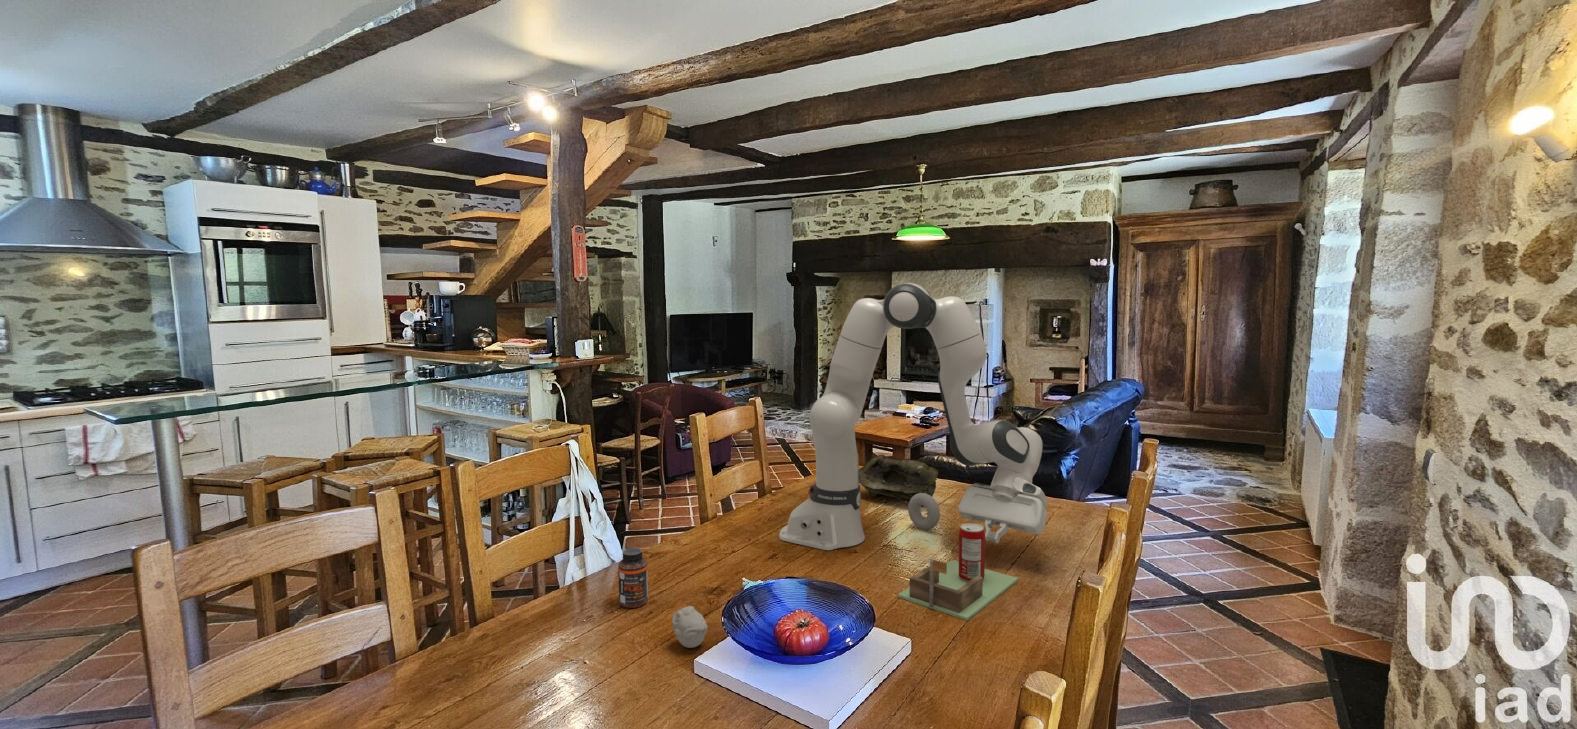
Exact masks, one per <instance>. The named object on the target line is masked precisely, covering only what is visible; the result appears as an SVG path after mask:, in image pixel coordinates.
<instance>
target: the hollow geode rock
mask: <svg viewBox="0 0 1577 729" xmlns="http://www.w3.org/2000/svg"><path fill="white" fill-rule="evenodd" d="M938 476H939V470H938V469H937V468H935V467H934V466H930V465H928V464H927V463H926V462H925V461H923V460H921V459H920V460H918V459H915V458H913V459H912V458H901V459H899V458H895V457H893V456H892V457H889V456H885V455H884V454H880V455H879V454H878V455H874V456H873V457H870V459H869V460H868V461H867V462H866V463H865V465H864V466H862V467H861V468H858V480H859V485H860V486H862V487H863V488H864V489H865V490H866V491H868V492H869V495H870V497H876V496H878V495H883V496H885V497H893V498H897V499H898V500H899V501H900V502H905V503H908V504H909V502H910V500H911V498H912V497H913V496H914V495H916V494H918V493H926V494H928V495H930V496H932V497H933V495H934V494H935V491H936V488H937V480H938V479H937V478H938ZM922 507H923V508H925V507H924V506H923V505H922V506H921V508H922Z"/></svg>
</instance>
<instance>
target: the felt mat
mask: <svg viewBox="0 0 1577 729" xmlns="http://www.w3.org/2000/svg"><path fill="white" fill-rule="evenodd" d="M946 563H947V574H944V573H940V572H939V582H938V583H937V584H939V585H942V586H945V587H948V588H952V589H955V590H958V589H959V588H961V587H962V586H963V585H965V584H966V583H968V582H966V581H964V580H962V579H961V578H960V577H959V560H955V559H952V560H950V561H949V562H946ZM1018 581H1019V578H1018V577H1016V576H1012V575H1009V574H1005V573H1002V572H998V571H994V570H991V569H988V568H985V574H984V579H983V591H982V596H981V597H980V598H978V599H977V600H976V601H974V602H973V603H972V604H971V605H969V606H968V607H967V608H965V609H964V610H963V611H961V612H960V613H957V612H954V611H951V610H948V609H945V608H942V607H939V606H936V605H933V607H930V606H929V603H927V602H924V601H921V600H918V599H915V598H912V597H910V586H908V587H907V588H906V589H904V590H902V591H901V592H900V593H898V594H897V597H898V598H900V599H902V600H906V601H908V602H911V603H914V604H917V605H920V606H923V607H926V608H929V609H933V610H936V611H938V612H941V613H944V614H947V615H950V616H953V617H955V618H958V619H960V620H965V621H967V622H968V621H969V620H971V619H972V618H973V617H974V616H976V615H977V614H978V613H979V612H981V611H982V610H983V609H984V608H986V607H987V606H988V605H989V604H991V603H992V602H993V601H995V600H996V599H997V598H999V597H1000V596H1001V595H1003V593H1005V592H1006V591H1007V590H1009V589H1010V588H1011V587H1012V586H1014V584H1016V583H1017V582H1018Z"/></svg>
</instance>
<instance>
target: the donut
mask: <svg viewBox="0 0 1577 729" xmlns="http://www.w3.org/2000/svg"><path fill="white" fill-rule="evenodd" d="M922 505H923V506H924V507H923V508H925V510H926V512H927V514H926V517H925V515H923V514H922V511H921V510H922V509H921V508H922ZM907 509H908V510H907V511H908V516H909V518H910V520H911V522H912V523H913V524H914V525H915V526H916V527H917V528H919V529H920V530H922V531H929V530H932V529H934V528H935V527H937V526H938V523H939V522H940V519H941V509H940V505H939V504H938V502H937V501H936V499H935V498H934V497H933V496H930V495H928V494H926V493H918V494H916V495H914V496H913V497H912V498H911V500H910V502H909V503H908V505H907Z"/></svg>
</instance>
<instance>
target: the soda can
mask: <svg viewBox="0 0 1577 729" xmlns="http://www.w3.org/2000/svg"><path fill="white" fill-rule="evenodd" d="M959 528H960V529H959V532H958V561H959V577H960V578H961V579H962V580H964V581H966V582H969V581H970V580H972V579H973V578H975V577H976V576H980V577H983V579H984V574H985V569H986V568H985V567H986V565H985V564H986V562H985V561H986V539H985V534H986V532H985V530H984V529H985V528H984V526H983V525H981V524H978V523H971V522H970V523H969V522H968V523H962V524H961V525H960V527H959Z"/></svg>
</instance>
